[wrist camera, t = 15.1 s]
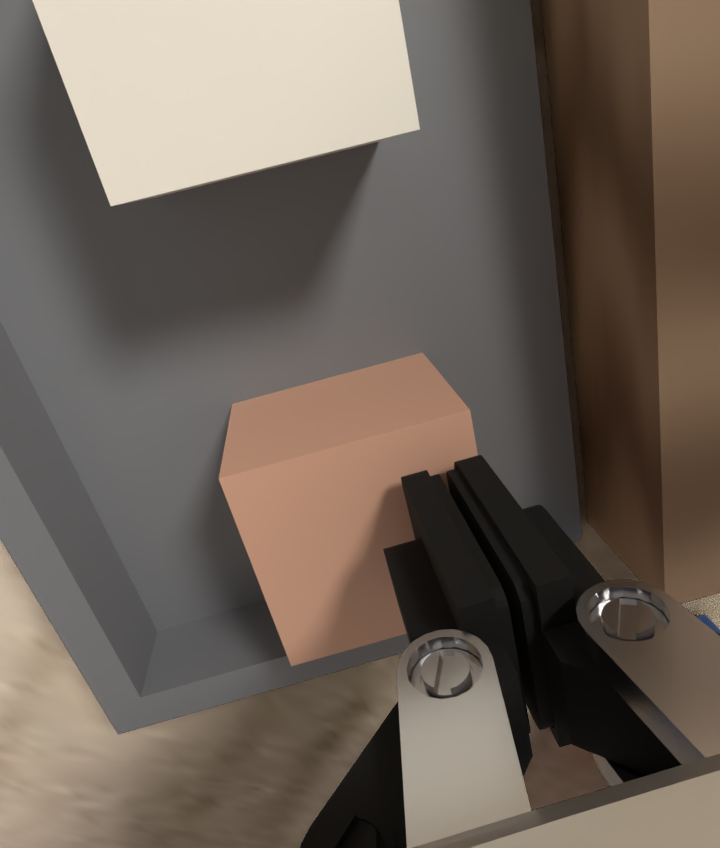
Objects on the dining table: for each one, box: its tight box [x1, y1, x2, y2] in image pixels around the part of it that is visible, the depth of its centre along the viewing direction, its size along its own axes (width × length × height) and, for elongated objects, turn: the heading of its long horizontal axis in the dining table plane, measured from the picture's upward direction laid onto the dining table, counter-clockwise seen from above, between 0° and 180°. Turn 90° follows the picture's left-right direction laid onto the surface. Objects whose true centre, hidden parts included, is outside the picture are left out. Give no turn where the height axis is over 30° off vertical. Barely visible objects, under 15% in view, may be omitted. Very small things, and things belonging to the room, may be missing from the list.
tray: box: [0, 0, 582, 734], centre depth 13 cm, size 20×14×3 cm
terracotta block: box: [219, 352, 478, 666], centre depth 14 cm, size 5×5×4 cm
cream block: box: [32, 0, 420, 206], centre depth 10 cm, size 5×5×4 cm
